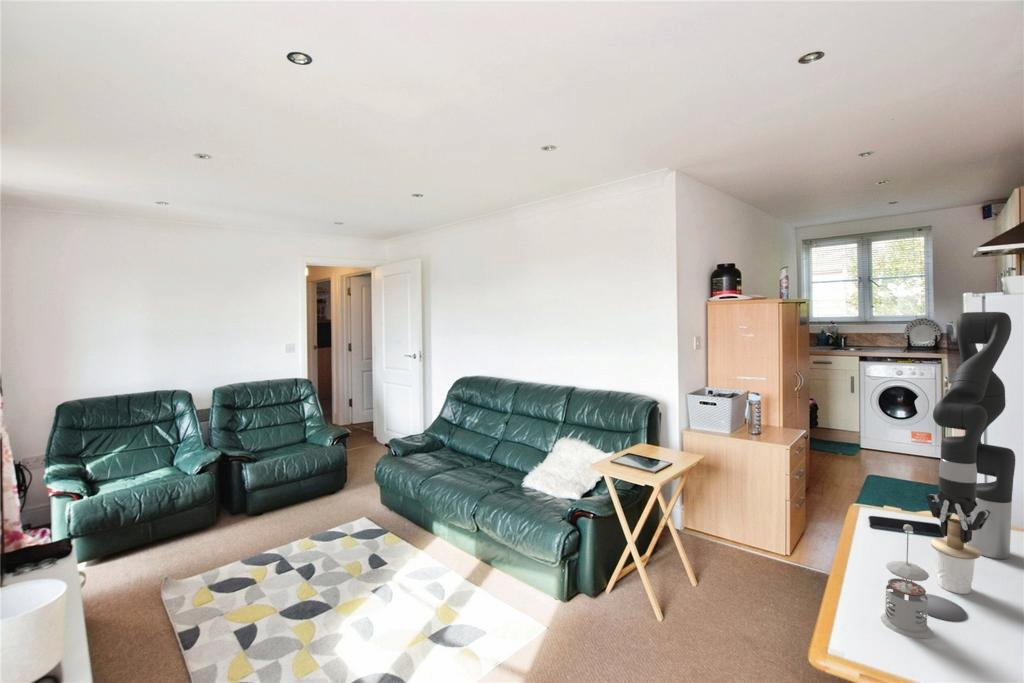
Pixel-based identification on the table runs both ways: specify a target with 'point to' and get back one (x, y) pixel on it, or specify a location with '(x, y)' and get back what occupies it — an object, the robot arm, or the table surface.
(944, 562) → the white cup
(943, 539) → the lid
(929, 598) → the mat
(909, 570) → the french press
